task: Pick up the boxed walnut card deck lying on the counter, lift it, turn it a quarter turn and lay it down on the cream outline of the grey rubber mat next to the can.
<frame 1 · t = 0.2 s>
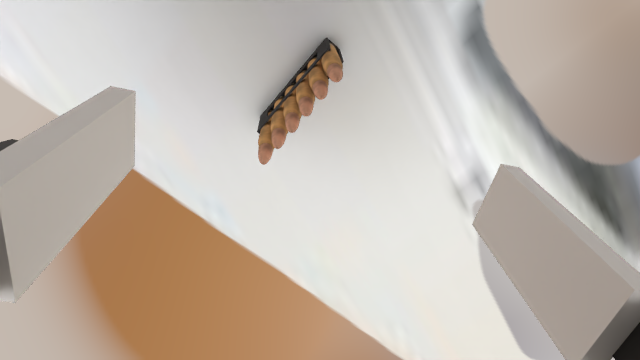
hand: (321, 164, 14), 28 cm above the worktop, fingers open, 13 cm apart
ammunition clip: (298, 84, 41), on the worktop
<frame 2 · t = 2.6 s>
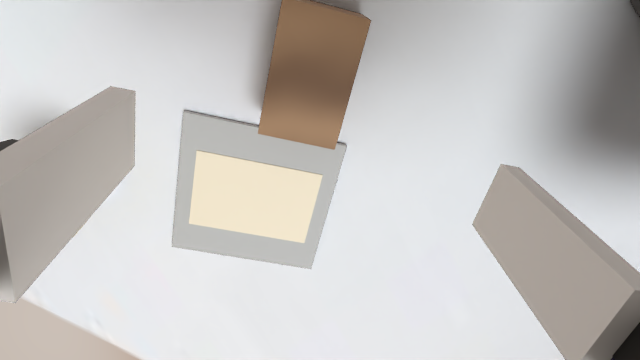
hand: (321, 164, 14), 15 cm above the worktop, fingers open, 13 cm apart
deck: (309, 65, 27), on the worktop
mat: (254, 196, 32), on the worktop
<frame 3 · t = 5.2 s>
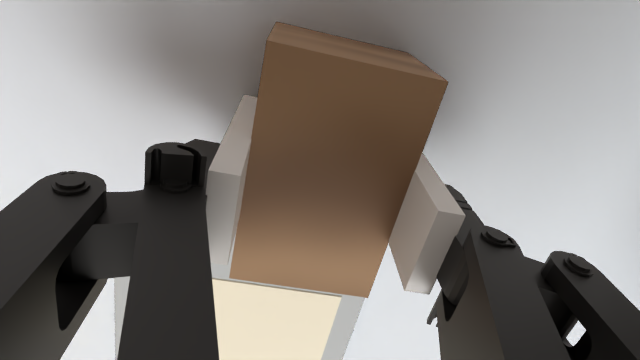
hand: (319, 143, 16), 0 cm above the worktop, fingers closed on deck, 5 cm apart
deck: (319, 138, 16), on the worktop, touching gripper
mat: (237, 324, 21), on the worktop
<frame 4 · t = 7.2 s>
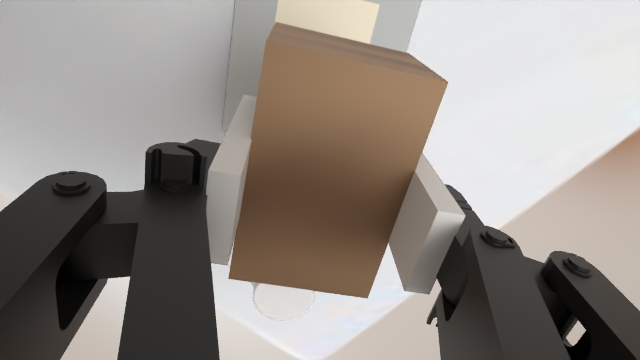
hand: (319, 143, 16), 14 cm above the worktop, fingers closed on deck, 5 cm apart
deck: (319, 138, 16), point 14 cm above the worktop, touching gripper
supplement bottle: (287, 215, 34), on the worktop
mat: (315, 65, 28), on the worktop
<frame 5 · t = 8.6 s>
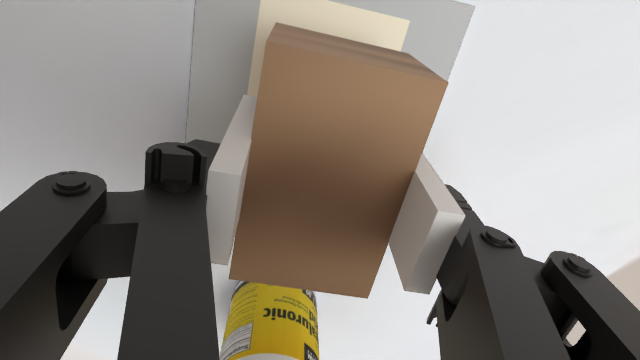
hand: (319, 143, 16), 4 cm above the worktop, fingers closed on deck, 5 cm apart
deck: (319, 138, 16), point 4 cm above the worktop, touching gripper
supplement bottle: (274, 294, 26), on the worktop
mat: (314, 104, 20), on the worktop
when the fingers open (2 cm above the worktop, at t = 9.7 s): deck drops 1 cm, resting on mat.
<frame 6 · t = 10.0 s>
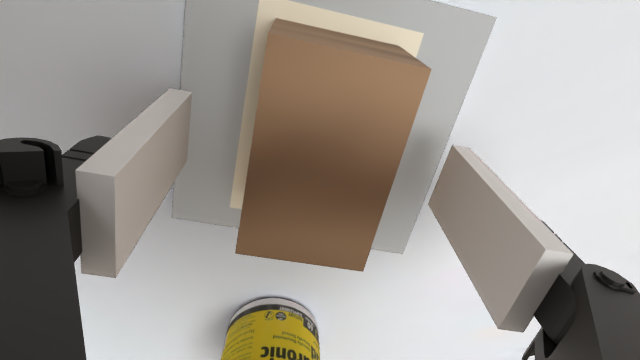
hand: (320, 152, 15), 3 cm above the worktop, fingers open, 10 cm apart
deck: (317, 126, 17), resting on mat
supplement bottle: (273, 325, 24), on the worktop
mat: (317, 124, 18), on the worktop
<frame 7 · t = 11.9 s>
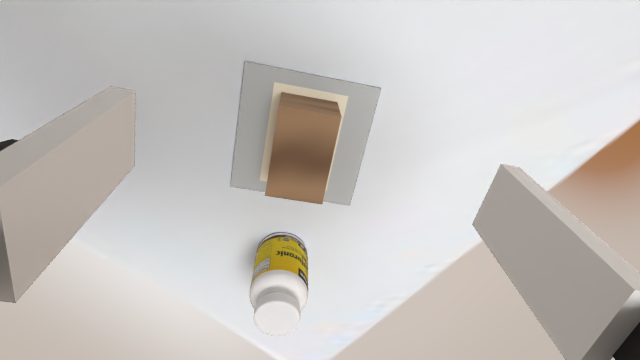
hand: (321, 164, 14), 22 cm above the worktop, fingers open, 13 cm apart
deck: (301, 139, 36), resting on mat
supplement bottle: (282, 250, 43), on the worktop
mat: (301, 138, 37), on the worktop
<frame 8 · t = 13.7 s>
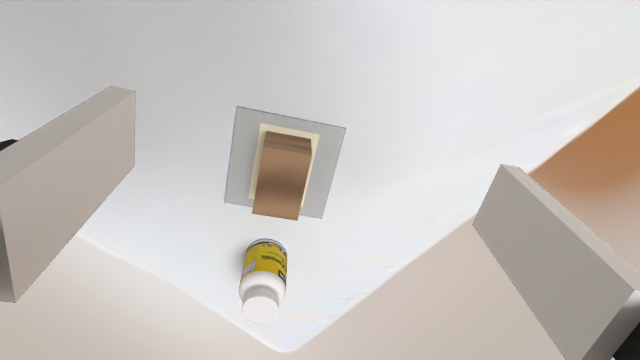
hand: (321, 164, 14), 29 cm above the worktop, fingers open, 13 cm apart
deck: (282, 166, 45), resting on mat
supplement bottle: (266, 253, 52), on the worktop
mat: (282, 165, 46), on the worktop
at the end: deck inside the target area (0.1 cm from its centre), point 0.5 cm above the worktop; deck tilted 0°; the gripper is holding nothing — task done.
